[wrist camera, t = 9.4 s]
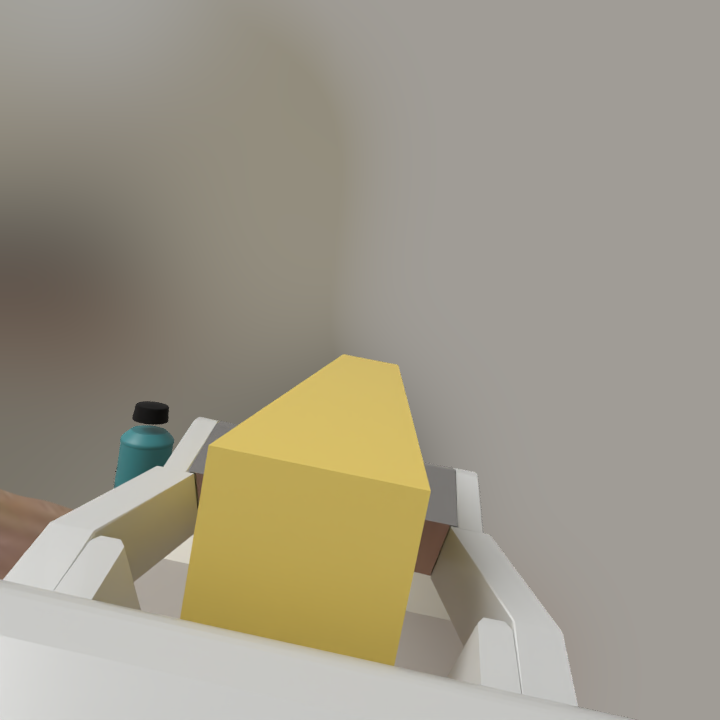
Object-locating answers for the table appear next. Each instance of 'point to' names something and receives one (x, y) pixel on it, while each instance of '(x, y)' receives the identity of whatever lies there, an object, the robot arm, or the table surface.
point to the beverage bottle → (144, 443)
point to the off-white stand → (419, 631)
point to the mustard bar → (314, 516)
